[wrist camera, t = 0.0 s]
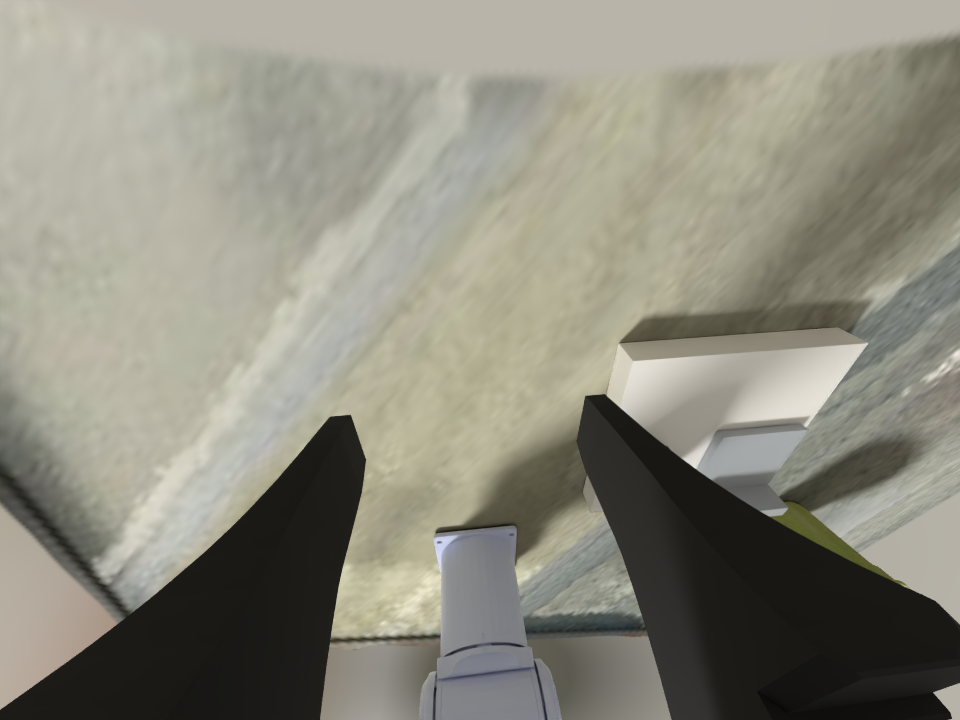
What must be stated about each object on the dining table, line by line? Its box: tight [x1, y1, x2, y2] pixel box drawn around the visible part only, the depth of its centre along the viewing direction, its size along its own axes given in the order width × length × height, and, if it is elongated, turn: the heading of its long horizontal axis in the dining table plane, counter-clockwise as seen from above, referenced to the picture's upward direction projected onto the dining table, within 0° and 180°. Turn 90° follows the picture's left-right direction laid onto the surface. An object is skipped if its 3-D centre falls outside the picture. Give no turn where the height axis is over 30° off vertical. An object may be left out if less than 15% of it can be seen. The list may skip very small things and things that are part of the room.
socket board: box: [583, 327, 868, 513], centre depth 26 cm, size 16×15×2 cm
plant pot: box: [770, 502, 909, 588], centre depth 33 cm, size 9×9×9 cm
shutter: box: [697, 424, 808, 517], centre depth 26 cm, size 7×6×3 cm
